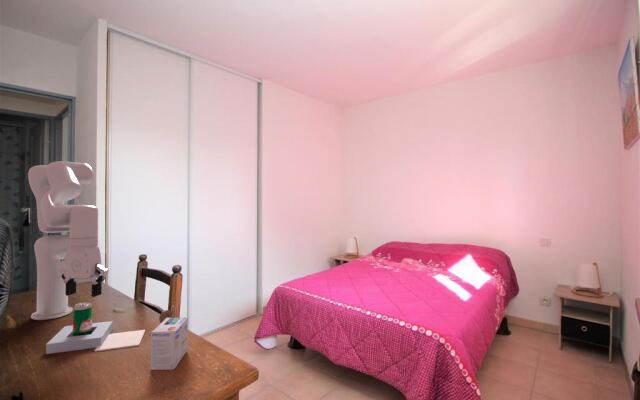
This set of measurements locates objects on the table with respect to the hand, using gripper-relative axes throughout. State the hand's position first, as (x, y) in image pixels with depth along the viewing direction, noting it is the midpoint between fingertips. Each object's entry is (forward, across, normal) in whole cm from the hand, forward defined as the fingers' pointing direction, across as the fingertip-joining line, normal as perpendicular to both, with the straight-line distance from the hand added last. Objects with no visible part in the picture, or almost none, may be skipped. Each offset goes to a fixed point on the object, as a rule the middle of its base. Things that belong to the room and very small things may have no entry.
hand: (83, 295), depth 102 cm
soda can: (+15, -1, 0) cm, 15 cm away
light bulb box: (+16, +35, -5) cm, 39 cm away
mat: (+15, +12, +3) cm, 19 cm away
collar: (+15, -1, 0) cm, 15 cm away
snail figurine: (+16, +26, +6) cm, 31 cm away
